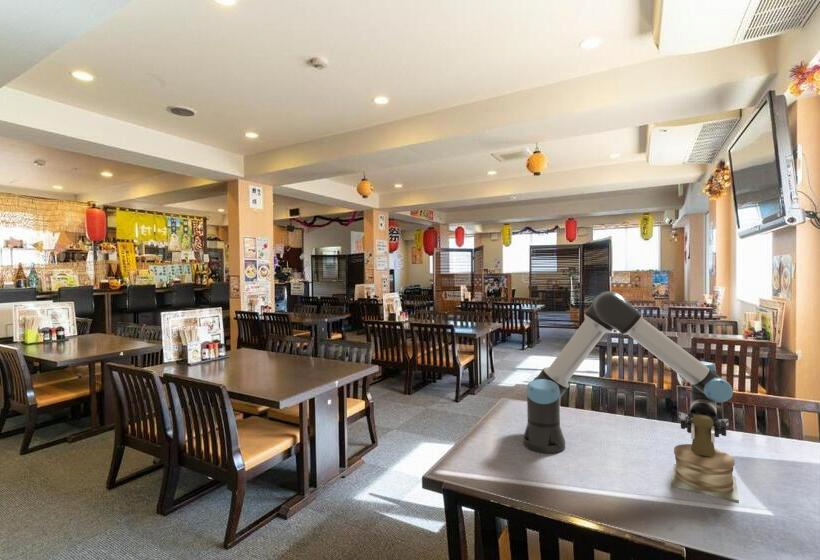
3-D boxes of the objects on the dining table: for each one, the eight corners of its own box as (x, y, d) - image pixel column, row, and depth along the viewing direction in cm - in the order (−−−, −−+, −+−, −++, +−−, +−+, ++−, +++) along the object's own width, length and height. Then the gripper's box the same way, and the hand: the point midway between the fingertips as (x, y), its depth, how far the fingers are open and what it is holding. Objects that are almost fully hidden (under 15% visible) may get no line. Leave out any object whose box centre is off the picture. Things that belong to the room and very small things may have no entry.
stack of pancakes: (670, 486, 123) (670, 457, 123) (674, 465, 136) (673, 439, 136) (738, 502, 114) (738, 471, 114) (735, 478, 127) (735, 451, 127)
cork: (719, 456, 122) (719, 419, 121) (696, 455, 123) (696, 418, 123) (709, 448, 127) (708, 413, 127) (687, 447, 129) (686, 412, 129)
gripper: (735, 429, 135) (740, 455, 116) (673, 419, 145) (668, 442, 126) (735, 406, 134) (740, 429, 116) (673, 398, 145) (668, 417, 126)
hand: (702, 435), depth 121 cm, fingers open, 4 cm apart
